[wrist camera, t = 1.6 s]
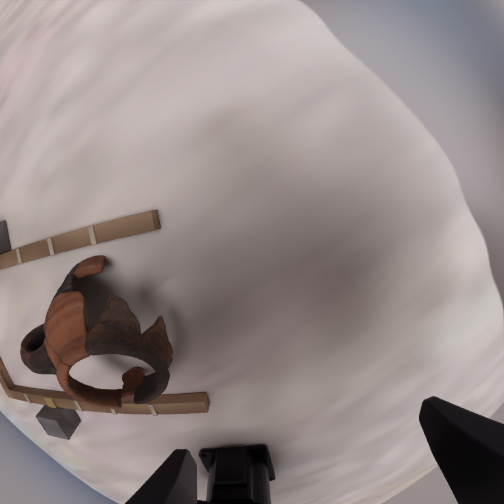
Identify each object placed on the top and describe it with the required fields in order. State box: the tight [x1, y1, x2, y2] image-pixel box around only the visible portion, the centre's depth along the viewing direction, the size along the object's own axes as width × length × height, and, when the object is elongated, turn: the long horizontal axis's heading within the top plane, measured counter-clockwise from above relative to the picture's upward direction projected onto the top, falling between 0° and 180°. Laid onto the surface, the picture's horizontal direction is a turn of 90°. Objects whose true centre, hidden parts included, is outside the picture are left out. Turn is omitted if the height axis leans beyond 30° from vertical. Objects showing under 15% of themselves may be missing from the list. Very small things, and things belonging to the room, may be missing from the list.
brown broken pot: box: [20, 256, 173, 409], centre depth 17 cm, size 12×10×8 cm
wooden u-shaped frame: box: [0, 210, 210, 440], centre depth 18 cm, size 21×25×3 cm
